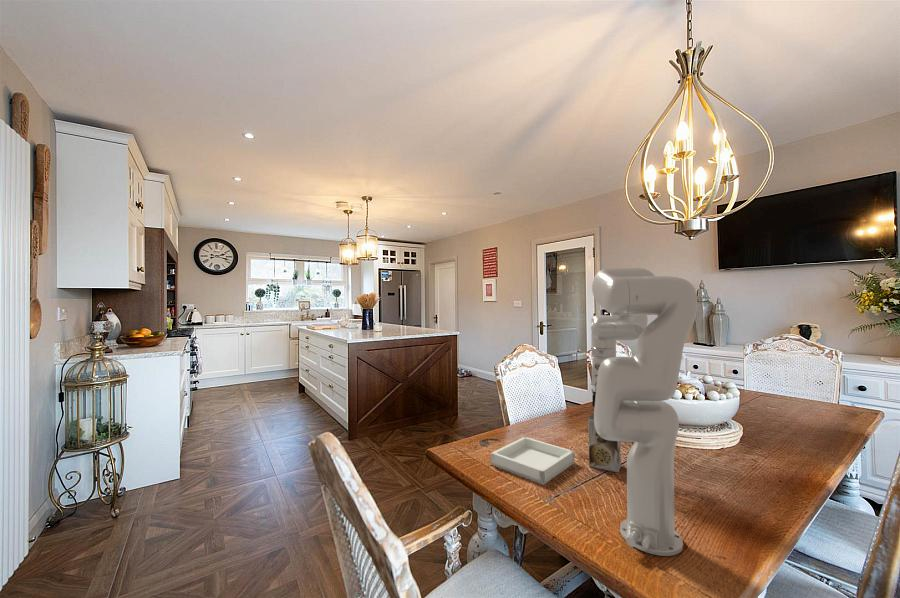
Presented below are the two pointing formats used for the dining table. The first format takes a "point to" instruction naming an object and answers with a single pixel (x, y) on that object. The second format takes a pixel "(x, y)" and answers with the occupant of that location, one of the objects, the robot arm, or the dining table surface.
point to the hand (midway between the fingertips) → (603, 404)
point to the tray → (533, 459)
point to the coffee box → (602, 450)
